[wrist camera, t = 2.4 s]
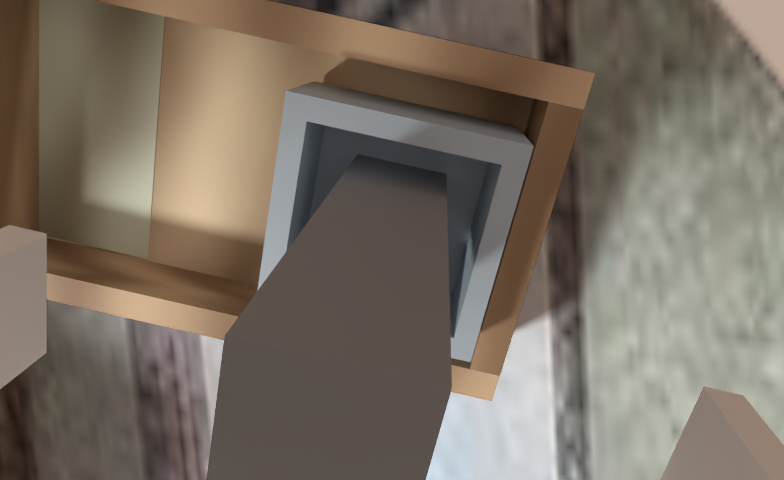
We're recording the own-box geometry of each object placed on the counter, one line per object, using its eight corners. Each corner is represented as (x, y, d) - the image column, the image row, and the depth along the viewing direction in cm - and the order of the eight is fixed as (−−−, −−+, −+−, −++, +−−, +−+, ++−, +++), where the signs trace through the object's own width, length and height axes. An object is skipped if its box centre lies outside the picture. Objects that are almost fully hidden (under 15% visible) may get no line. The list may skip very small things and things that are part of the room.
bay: (35, 243, 28) (-38, 280, 24) (35, -52, 24) (-55, -72, 19) (484, 345, 28) (491, 401, 23) (567, 67, 23) (595, 73, 19)
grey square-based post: (285, 267, 25) (71, 578, 11) (314, 81, 23) (83, 158, 8) (465, 308, 25) (497, 677, 11) (517, 126, 22) (652, 286, 8)
